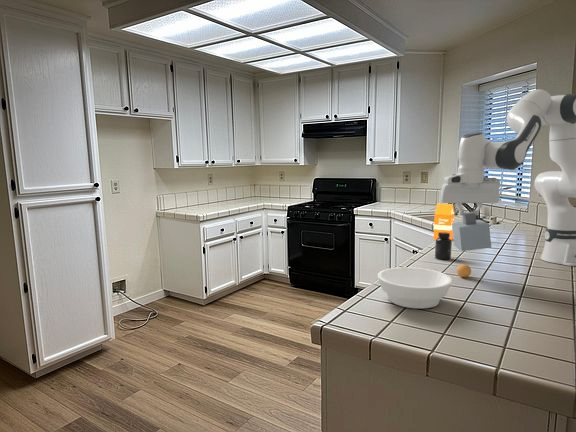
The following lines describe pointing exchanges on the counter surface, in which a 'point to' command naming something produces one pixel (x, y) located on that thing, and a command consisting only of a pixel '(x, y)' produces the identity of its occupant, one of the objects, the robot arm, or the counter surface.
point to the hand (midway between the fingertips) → (468, 215)
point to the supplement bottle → (443, 246)
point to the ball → (464, 270)
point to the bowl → (414, 286)
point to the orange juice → (443, 219)
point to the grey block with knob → (471, 233)
